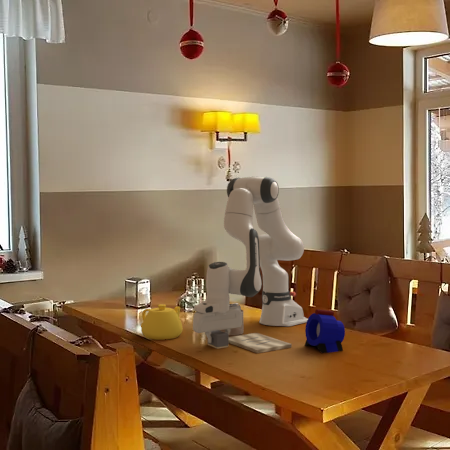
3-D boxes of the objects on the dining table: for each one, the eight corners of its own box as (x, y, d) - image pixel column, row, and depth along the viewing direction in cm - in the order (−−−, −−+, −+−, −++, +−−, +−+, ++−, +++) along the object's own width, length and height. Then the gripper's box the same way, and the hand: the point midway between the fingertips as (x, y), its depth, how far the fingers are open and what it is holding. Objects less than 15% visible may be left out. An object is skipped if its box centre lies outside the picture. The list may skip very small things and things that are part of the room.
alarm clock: (302, 345, 245) (303, 306, 244) (330, 342, 249) (330, 304, 248) (320, 353, 233) (320, 312, 232) (348, 350, 238) (349, 310, 237)
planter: (249, 333, 265) (249, 310, 264) (231, 338, 257) (231, 314, 256) (229, 329, 272) (229, 306, 271) (211, 333, 264) (211, 310, 264)
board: (257, 335, 261) (257, 332, 261) (291, 347, 242) (291, 344, 242) (223, 340, 252) (223, 337, 252) (257, 353, 234) (257, 350, 234)
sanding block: (218, 342, 249) (218, 330, 248) (228, 346, 243) (228, 333, 243) (207, 344, 246) (207, 331, 246) (217, 348, 240) (217, 335, 240)
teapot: (165, 342, 250) (165, 310, 249) (128, 336, 259) (128, 305, 259) (195, 332, 266) (195, 302, 266) (159, 327, 276) (159, 297, 276)
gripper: (235, 301, 252) (235, 336, 253) (190, 306, 241) (190, 343, 242) (245, 303, 247) (245, 339, 247) (199, 309, 235) (199, 346, 236)
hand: (217, 341), depth 244 cm, fingers closed on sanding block, 5 cm apart
